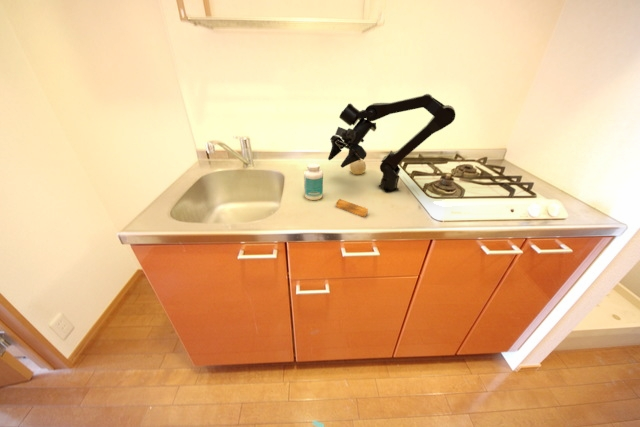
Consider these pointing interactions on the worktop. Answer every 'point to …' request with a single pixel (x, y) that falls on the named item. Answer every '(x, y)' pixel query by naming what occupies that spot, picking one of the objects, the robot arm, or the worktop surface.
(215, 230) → the worktop surface
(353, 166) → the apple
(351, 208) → the fry stick
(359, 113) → the robot arm
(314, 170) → the pill bottle
